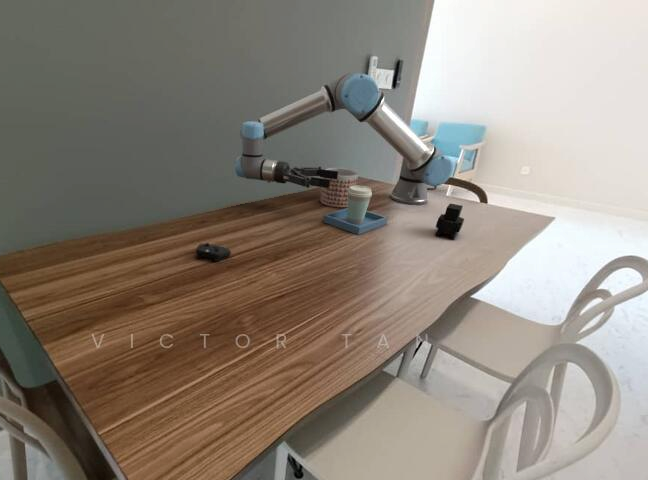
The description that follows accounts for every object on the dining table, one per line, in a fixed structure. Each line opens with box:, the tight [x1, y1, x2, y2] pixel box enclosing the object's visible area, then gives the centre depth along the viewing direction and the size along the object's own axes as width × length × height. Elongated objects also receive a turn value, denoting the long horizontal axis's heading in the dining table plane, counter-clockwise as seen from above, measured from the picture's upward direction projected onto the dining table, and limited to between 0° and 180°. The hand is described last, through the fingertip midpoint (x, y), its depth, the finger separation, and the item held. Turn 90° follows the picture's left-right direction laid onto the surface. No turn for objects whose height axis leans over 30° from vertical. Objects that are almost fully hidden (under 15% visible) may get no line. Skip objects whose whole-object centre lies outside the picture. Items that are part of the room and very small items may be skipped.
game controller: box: [195, 242, 232, 262], centre depth 110 cm, size 10×5×6 cm
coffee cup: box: [347, 184, 373, 224], centre depth 139 cm, size 8×8×12 cm
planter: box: [319, 167, 359, 209], centre depth 159 cm, size 14×14×13 cm
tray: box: [322, 208, 388, 236], centre depth 142 cm, size 18×16×3 cm
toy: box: [435, 203, 465, 241], centre depth 137 cm, size 8×14×10 cm, turn 149°
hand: (333, 179), depth 138 cm, fingers open, 13 cm apart
